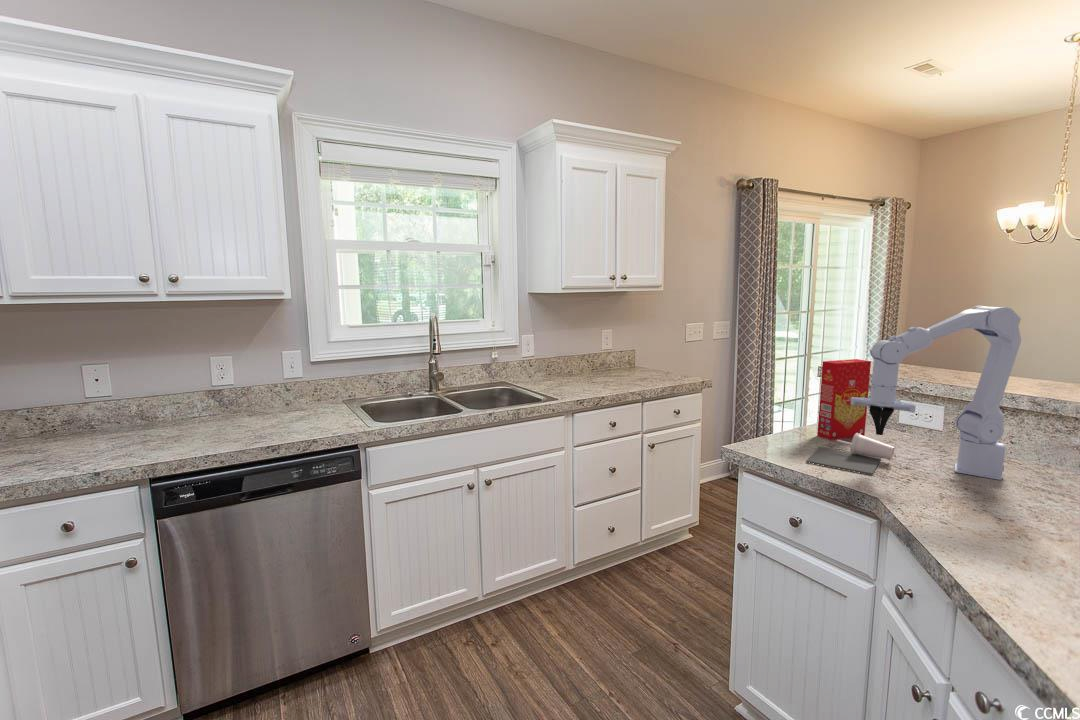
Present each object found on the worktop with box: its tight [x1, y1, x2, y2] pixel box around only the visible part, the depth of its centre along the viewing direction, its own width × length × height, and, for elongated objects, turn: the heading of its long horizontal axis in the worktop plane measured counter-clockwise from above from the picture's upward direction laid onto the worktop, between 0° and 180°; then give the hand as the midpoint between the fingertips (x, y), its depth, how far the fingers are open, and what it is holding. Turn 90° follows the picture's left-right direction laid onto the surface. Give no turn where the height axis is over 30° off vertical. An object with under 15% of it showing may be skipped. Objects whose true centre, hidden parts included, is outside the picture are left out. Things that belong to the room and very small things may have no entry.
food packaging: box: [816, 358, 872, 441], centre depth 171 cm, size 15×5×25 cm, turn 109°
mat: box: [805, 446, 882, 476], centre depth 148 cm, size 16×16×1 cm
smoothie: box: [836, 433, 895, 460], centre depth 150 cm, size 6×6×14 cm
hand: (879, 434), depth 141 cm, fingers closed
